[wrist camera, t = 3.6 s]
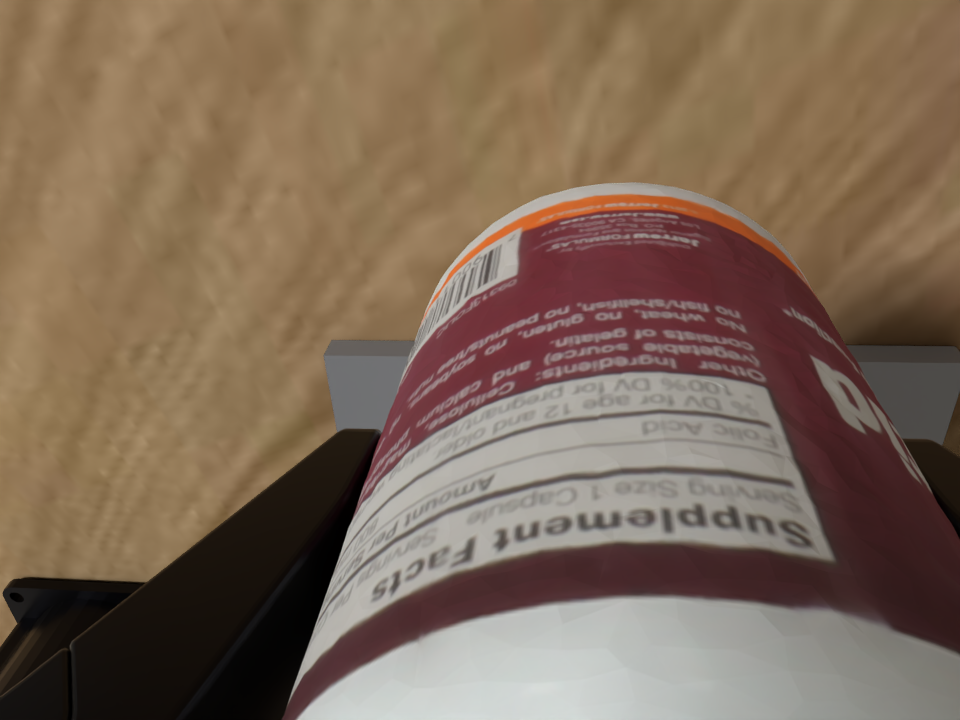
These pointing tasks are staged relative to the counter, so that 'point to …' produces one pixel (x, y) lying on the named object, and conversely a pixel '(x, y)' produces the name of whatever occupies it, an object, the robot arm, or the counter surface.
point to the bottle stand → (888, 369)
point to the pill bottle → (636, 494)
